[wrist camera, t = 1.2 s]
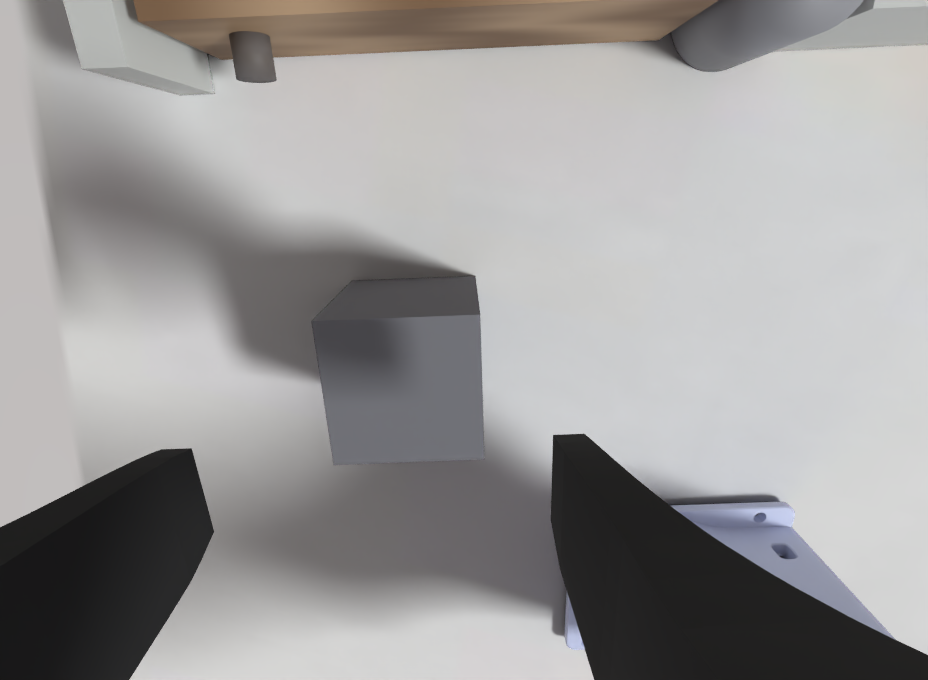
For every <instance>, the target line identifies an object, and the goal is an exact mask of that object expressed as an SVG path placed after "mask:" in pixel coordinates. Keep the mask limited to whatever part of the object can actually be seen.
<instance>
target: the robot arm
mask: <svg viewBox="0 0 928 680" xmlns="http://www.w3.org/2000/svg"><path fill="white" fill-rule="evenodd" d="M757 513H760V514H758V515H757V516H755V515H756V514H757ZM794 517H795V511H794V510H793V508H792V507H791V506H790V505H789V504H787V503H785V502H757V503H728V504H699V505H668V504H667V503H666V502H665V501H663V500H662V499H661V498H659V497H658V496H657V495H656V494H654V493H653V492H652V491H651V490H649V489H648V488H647V487H646V486H644V485H643V484H642V483H641V482H640V481H638V480H637V479H636V478H635V477H634V476H632V475H631V474H630V473H629V472H628V471H626V470H625V469H624V468H623V467H622V466H621V465H619V464H618V463H617V462H616V461H615V460H614V459H613V458H611V457H610V456H609V455H608V454H607V453H606V452H605V451H603V450H602V449H601V448H600V447H599V446H598V445H597V444H596V443H594V442H593V441H592V440H591V439H590V438H589V437H587V436H586V435H585V434H569V435H553V462H552V499H551V523H552V528H553V534H554V539H555V545H556V550H557V555H558V560H559V565H560V570H561V573H562V576H563V580H564V583H565V586H566V590H567V592H566V615H565V641H566V645H567V646H568V647H569V648H571V649H574V650H582V649H585V651H586V654H587V657H588V661H589V664H590V667H591V670H592V674H593V677H594V680H928V655H926V654H924V653H922V652H920V651H918V650H916V649H914V648H912V647H909V646H907V645H905V644H903V643H901V642H899V641H897V640H896V639H895V638H894V637H893V636H892V635H891V634H890V633H889V632H888V631H887V630H886V629H885V627H884V626H883V625H882V624H881V623H880V622H879V621H878V620H877V619H876V618H875V617H874V616H873V615H872V613H871V612H870V611H869V610H868V609H867V608H866V607H865V606H864V605H863V604H862V603H861V602H860V600H859V599H858V598H857V597H856V596H855V595H854V594H853V593H852V592H851V591H850V590H849V589H848V587H847V586H846V585H845V584H844V583H843V582H842V581H841V580H840V579H839V578H838V577H837V576H836V574H835V573H834V572H833V571H832V570H831V569H830V568H829V567H828V566H827V565H826V564H825V563H824V561H823V560H822V559H821V558H820V557H819V556H818V555H817V554H816V553H815V552H814V551H813V550H812V548H811V547H810V546H809V545H808V544H807V543H806V542H805V541H804V540H803V539H802V538H801V537H800V535H799V534H798V533H797V532H796V531H795V530H794V529H793V528H792V525H793V521H794ZM213 533H214V530H213V526H212V522H211V519H210V515H209V511H208V507H207V504H206V500H205V496H204V493H203V489H202V485H201V482H200V478H199V474H198V471H197V467H196V463H195V460H194V456H193V452H192V448H191V449H164V450H159V451H156V452H154V453H151V454H149V455H146V456H144V457H142V458H139V459H137V460H135V461H133V462H131V463H129V464H127V465H124V466H122V467H120V468H118V469H116V470H114V471H112V472H110V473H108V474H106V475H104V476H102V477H100V478H98V479H96V480H94V481H92V482H90V483H88V484H86V485H84V486H82V487H80V488H78V489H76V490H75V491H73V492H71V493H69V494H67V495H65V496H63V497H61V498H59V499H57V500H55V501H53V502H51V503H49V504H47V505H45V506H43V507H41V508H39V509H37V510H35V511H33V512H31V513H30V514H27V515H25V516H23V517H21V518H19V519H17V520H15V521H13V522H11V523H9V524H6V525H4V526H2V527H0V680H129V679H130V678H131V676H132V674H133V673H134V671H135V670H136V668H137V667H138V665H139V663H140V662H141V660H142V659H143V657H144V656H145V654H146V652H147V651H148V649H149V648H150V646H151V645H152V643H153V641H154V640H155V638H156V637H157V635H158V634H159V632H160V630H161V629H162V627H163V626H164V624H165V623H166V621H167V619H168V618H169V616H170V614H171V613H172V611H173V610H174V608H175V606H176V605H177V603H178V602H179V600H180V598H181V597H182V595H183V594H184V592H185V590H186V589H187V587H188V585H189V584H190V582H191V580H192V578H193V576H194V574H195V572H196V570H197V568H198V566H199V564H200V562H201V560H202V558H203V555H204V553H205V551H206V549H207V546H208V544H209V542H210V539H211V537H212V535H213Z"/></svg>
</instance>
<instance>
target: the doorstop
mask: <svg viewBox="0 0 928 680" xmlns="http://www.w3.org/2000/svg"><path fill="white" fill-rule="evenodd" d="M312 328H313V334H314V340H315V347H316V353H317V360H318V366H319V373H320V379H321V386H322V392H323V398H324V405H325V411H326V418H327V424H328V431H329V437H330V444H331V450H332V456H333V463H334V465H348V464H375V463H402V462H430V461H457V460H484V428H483V395H482V361H481V328H480V310H479V302H478V294H477V286H476V278H475V276H458V277H433V278H408V279H384V280H359V281H351V282H350V283H349V284H348V285H347V286H346V287H345V288H344V289H343V290H342V291H341V292H340V293H339V294H338V295H337V296H336V297H335V298H334V299H333V300H332V301H331V302H330V303H329V304H328V305H327V306H326V307H325V308H324V309H323V310H322V311H321V312H320V313H319V314H318V315H317V316H316V317H315V318H314V319H313V320H312Z"/></svg>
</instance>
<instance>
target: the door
mask: <svg viewBox="0 0 928 680" xmlns="http://www.w3.org/2000/svg"><path fill="white" fill-rule="evenodd" d="M133 1H134V5H135V9H136V14H137V18H138V22H140V23H142V24H144V25H147V26H149V27H151V28H153V29H155V30H158V31H160V32H162V33H164V34H166V35H168V36H171V37H173V38H175V39H177V40H179V41H181V42H184V43H186V44H188V45H190V46H192V47H195V48H197V49H199V50H201V51H203V52H205V53H208V54H210V55H212V56H214V57H216V58H219V59H221V60H228V59H233V62H234V68H235V73H236V79H237V80H239V81H243V82H252V83H267V82H274V81H276V73H275V67H274V60H273V57H295V56H317V55H340V54H362V53H384V52H407V51H429V50H451V49H474V48H496V47H518V46H541V45H563V44H585V43H607V42H630V41H652V40H660V39H661V38H663V37H664V36H666V35H667V34H669V33H670V32H672V31H673V30H675V29H676V28H678V27H679V26H681V25H682V24H684V23H685V22H687V21H688V20H690V19H691V18H693V17H694V16H696V15H697V14H699V13H700V12H702V11H703V10H705V9H706V8H708V7H709V6H711V5H712V4H714V3H715V2H717V1H718V0H133Z"/></svg>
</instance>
